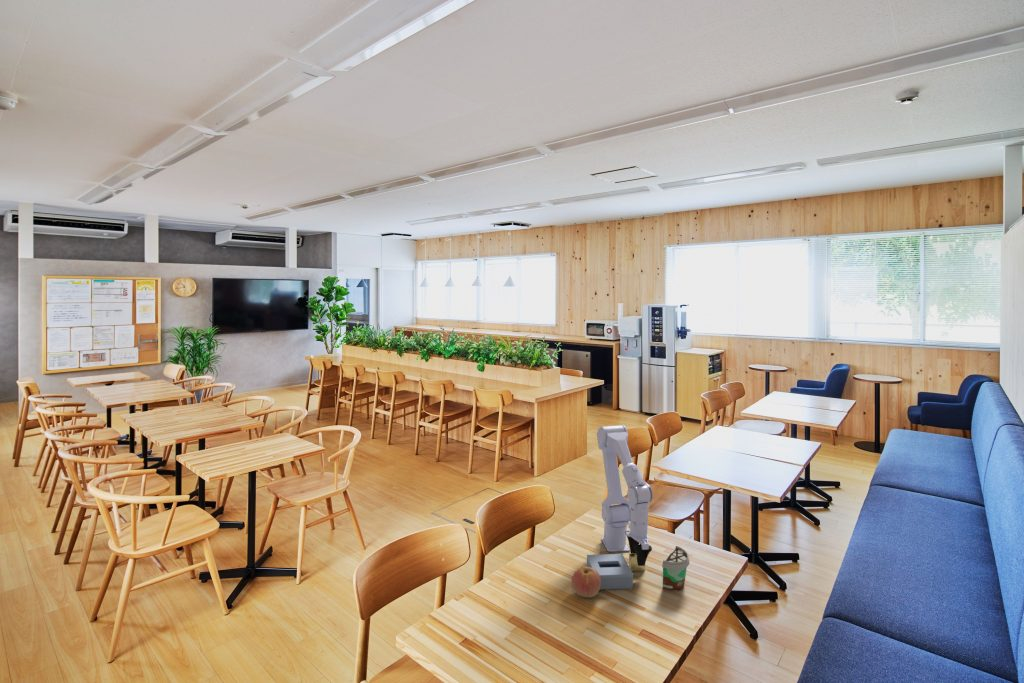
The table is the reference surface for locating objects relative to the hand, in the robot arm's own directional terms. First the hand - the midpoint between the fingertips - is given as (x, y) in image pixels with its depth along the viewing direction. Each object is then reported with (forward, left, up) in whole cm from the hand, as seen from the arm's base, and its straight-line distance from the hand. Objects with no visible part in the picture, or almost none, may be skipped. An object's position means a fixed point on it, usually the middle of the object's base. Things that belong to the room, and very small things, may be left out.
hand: (637, 559), depth 174 cm
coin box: (+5, -11, -4) cm, 13 cm away
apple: (+13, -21, -4) cm, 25 cm away
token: (0, 0, -4) cm, 4 cm away
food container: (+10, +10, -4) cm, 15 cm away
